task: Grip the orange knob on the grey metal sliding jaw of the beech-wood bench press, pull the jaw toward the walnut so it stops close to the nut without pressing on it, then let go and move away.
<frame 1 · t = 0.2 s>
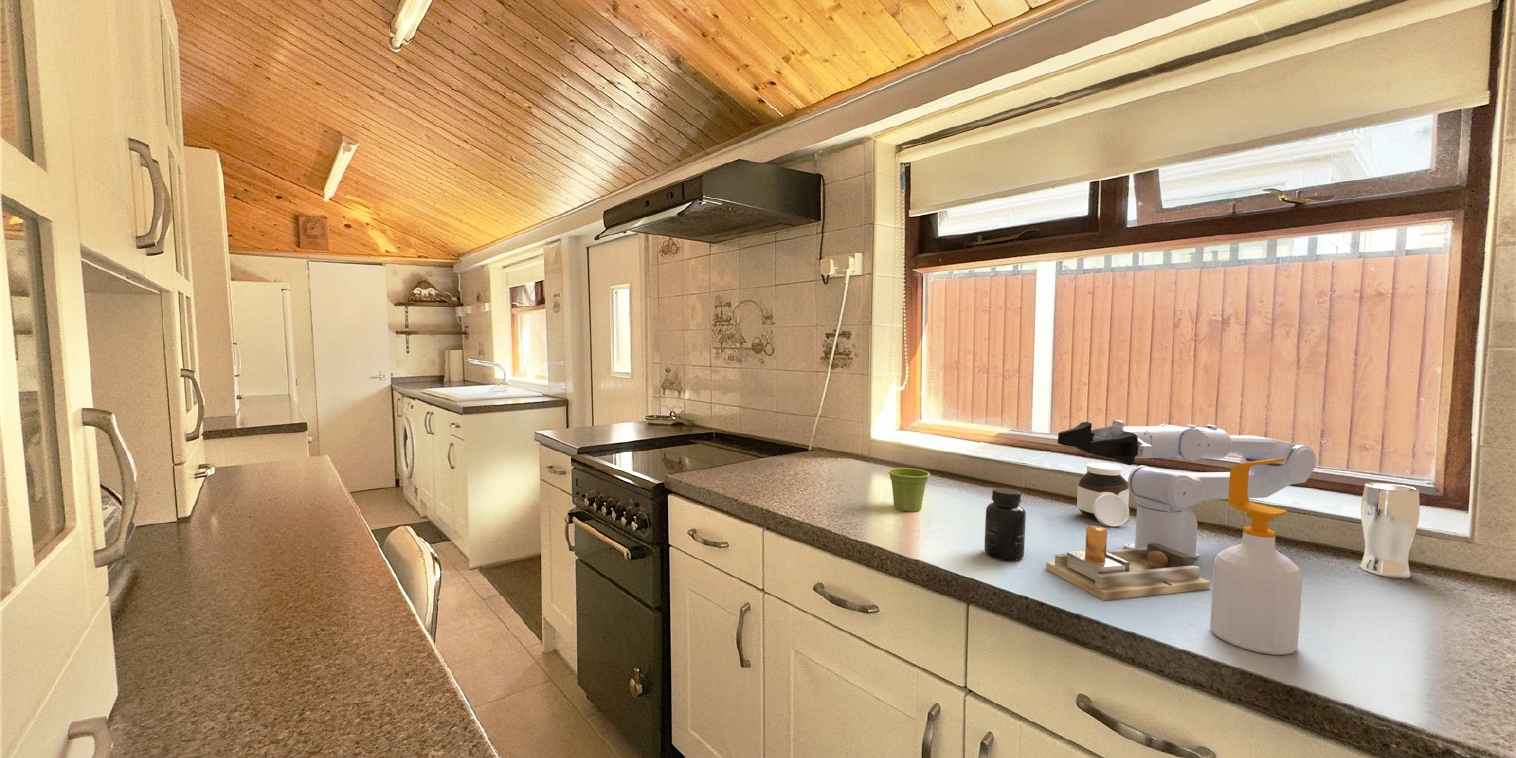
hand: (1074, 442, 109), 21 cm above the worktop, tool horizontal, fingers open, 7 cm apart
spread jar: (1105, 520, 136), on the worktop
plant pot: (907, 509, 143), on the worktop
beer glass: (1384, 573, 106), on the worktop
soap bottle: (1251, 640, 82), on the worktop
supplement bottle: (1003, 556, 113), on the worktop
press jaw: (1097, 550, 101), point 5 cm above the worktop, slide at 0.0 cm
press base: (1124, 578, 102), on the worktop
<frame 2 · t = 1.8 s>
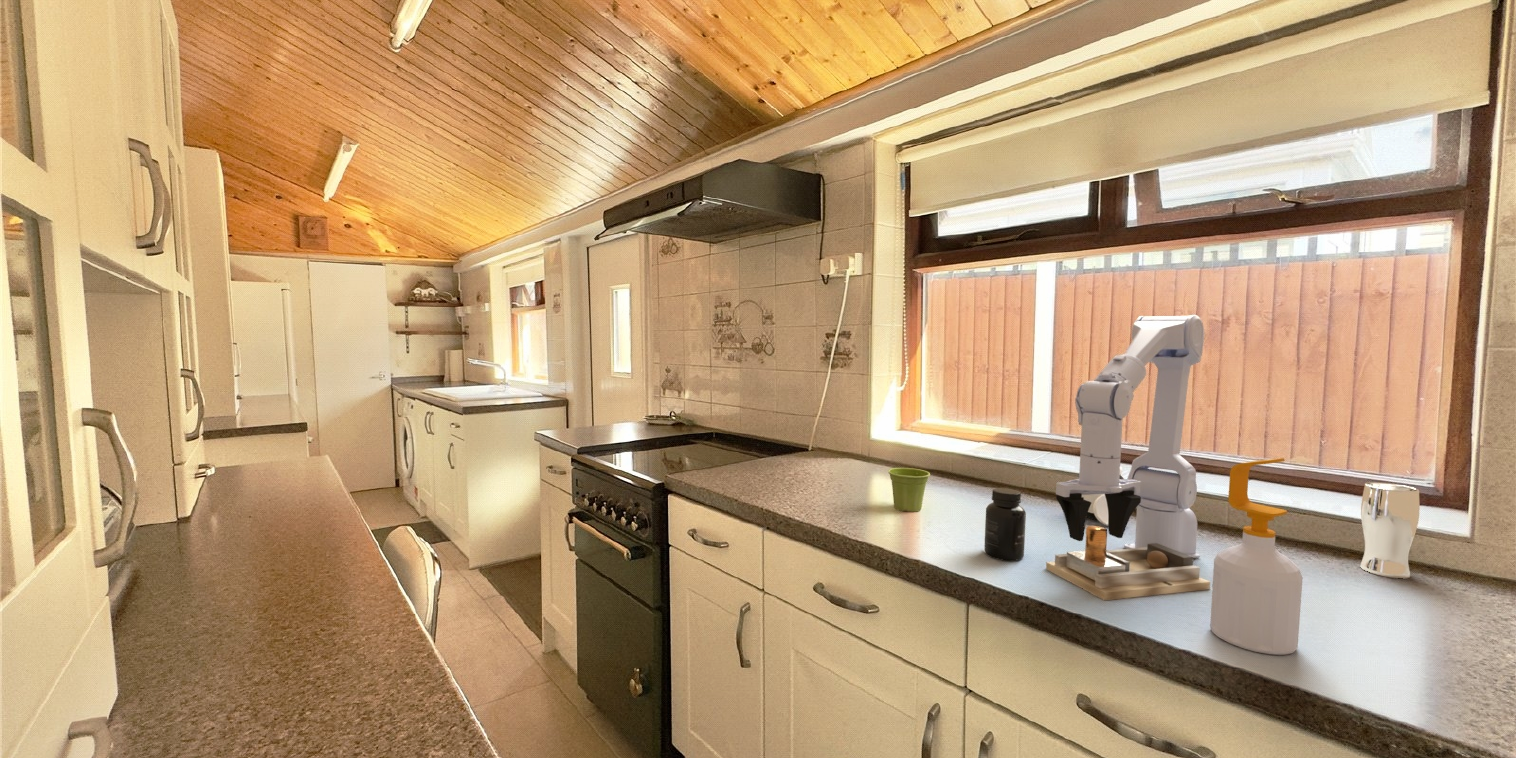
hand: (1096, 537, 100), 7 cm above the worktop, tool pointing down, fingers open, 7 cm apart
nothing on the worktop moved.
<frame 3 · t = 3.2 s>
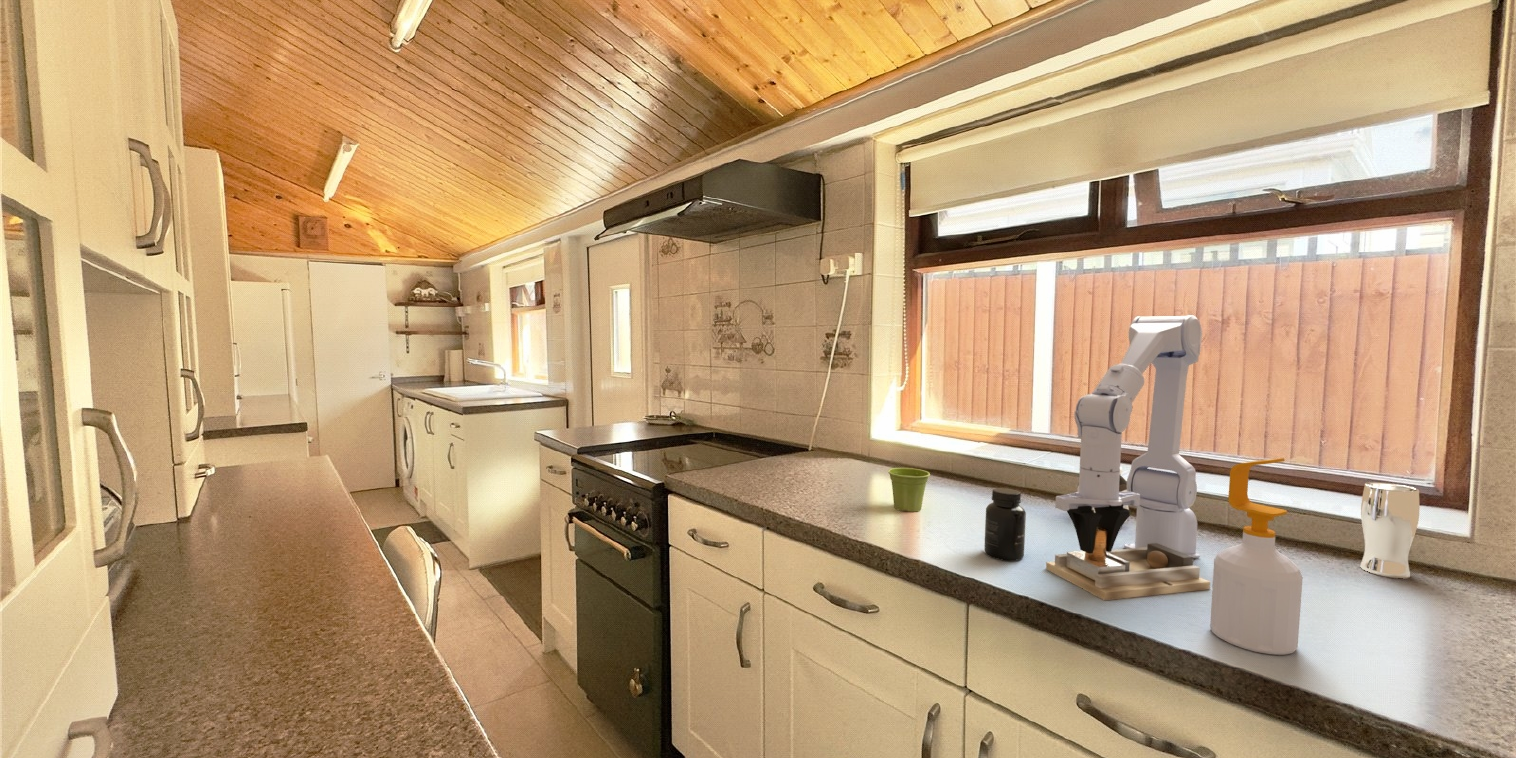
hand: (1095, 550, 101), 5 cm above the worktop, tool pointing down, fingers closed on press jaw, 3 cm apart
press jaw: (1097, 550, 101), point 5 cm above the worktop, slide at 0.0 cm, touching gripper
everything else where it was.
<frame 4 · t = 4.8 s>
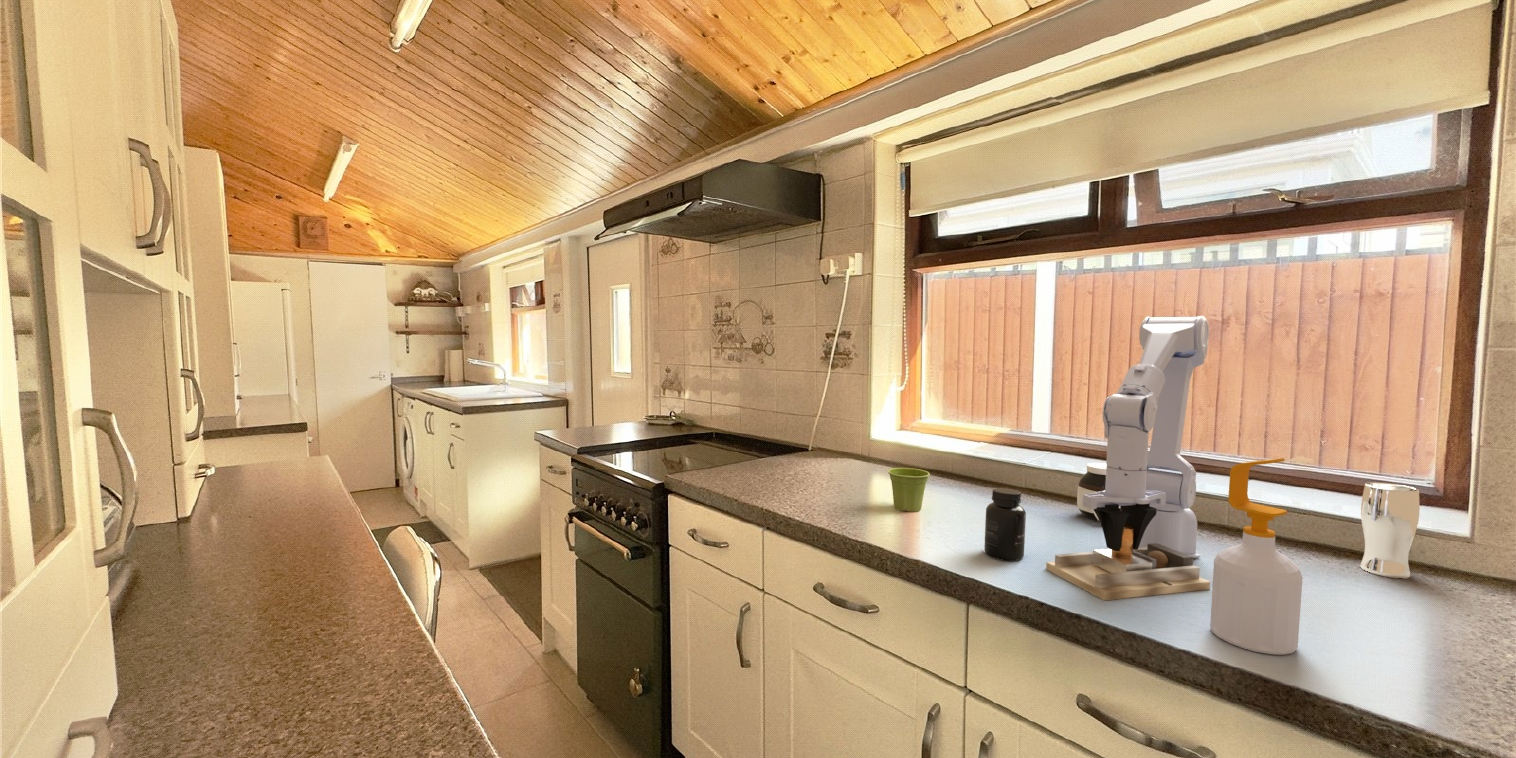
hand: (1122, 548, 102), 5 cm above the worktop, tool pointing down, fingers closed on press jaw, 3 cm apart
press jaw: (1124, 548, 102), point 5 cm above the worktop, slide at 5.2 cm, touching gripper
everything else where it was.
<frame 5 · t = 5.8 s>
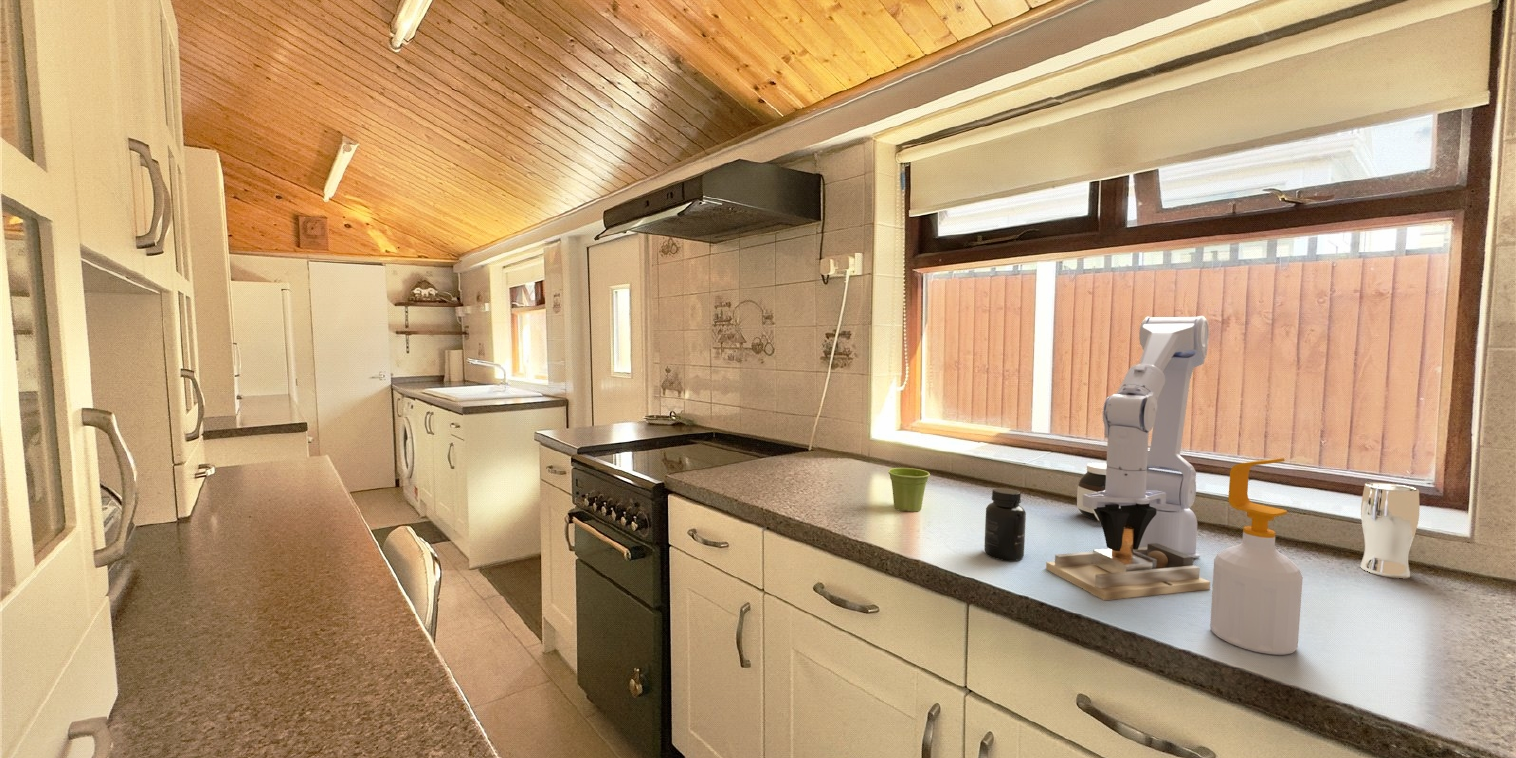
hand: (1122, 548, 102), 5 cm above the worktop, tool pointing down, fingers closed on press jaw, 3 cm apart
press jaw: (1124, 548, 102), point 5 cm above the worktop, slide at 5.2 cm, touching gripper
everything else where it was.
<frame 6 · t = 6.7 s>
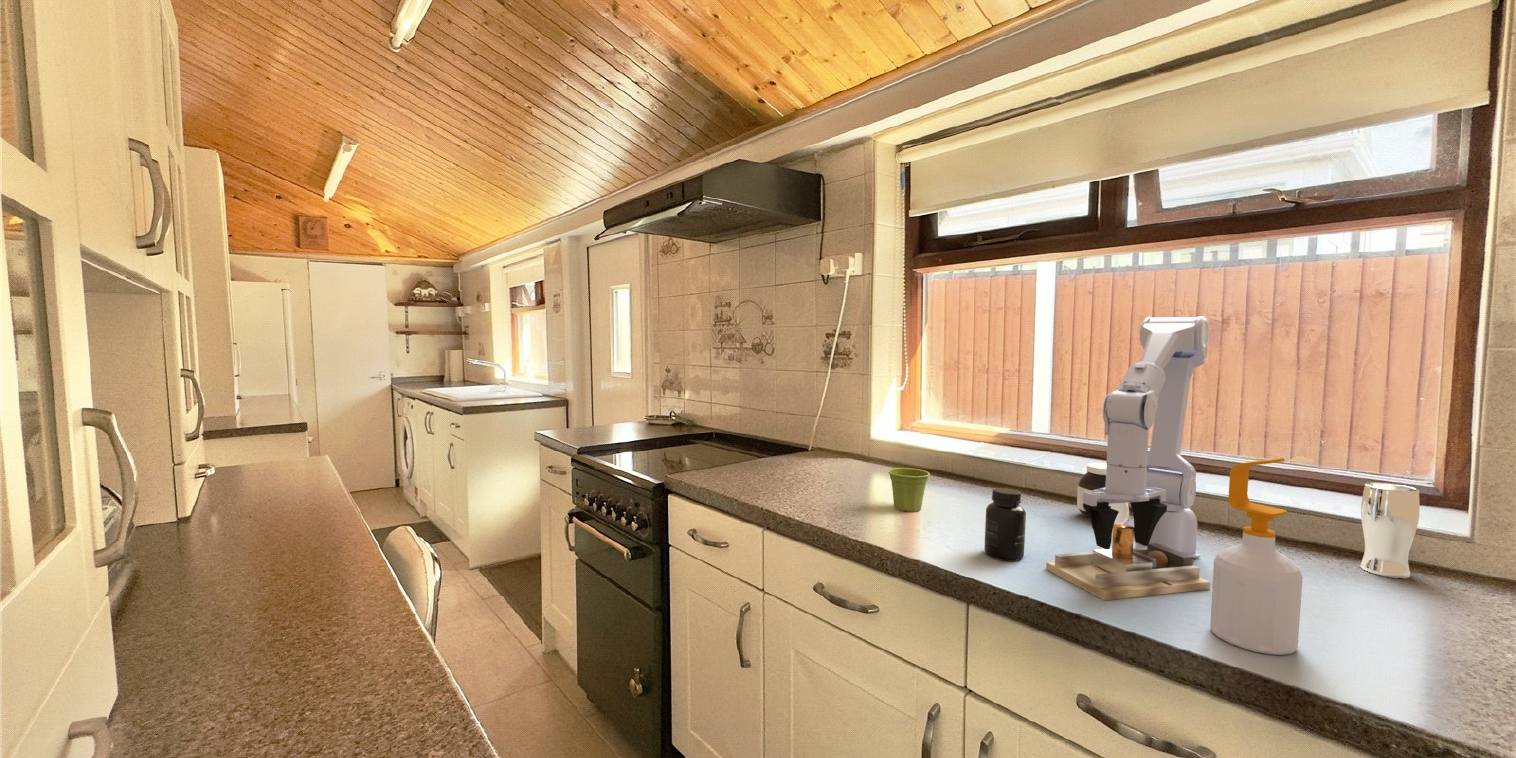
hand: (1122, 545, 102), 6 cm above the worktop, tool pointing down, fingers open, 7 cm apart
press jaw: (1124, 548, 102), point 5 cm above the worktop, slide at 5.2 cm
everything else where it was.
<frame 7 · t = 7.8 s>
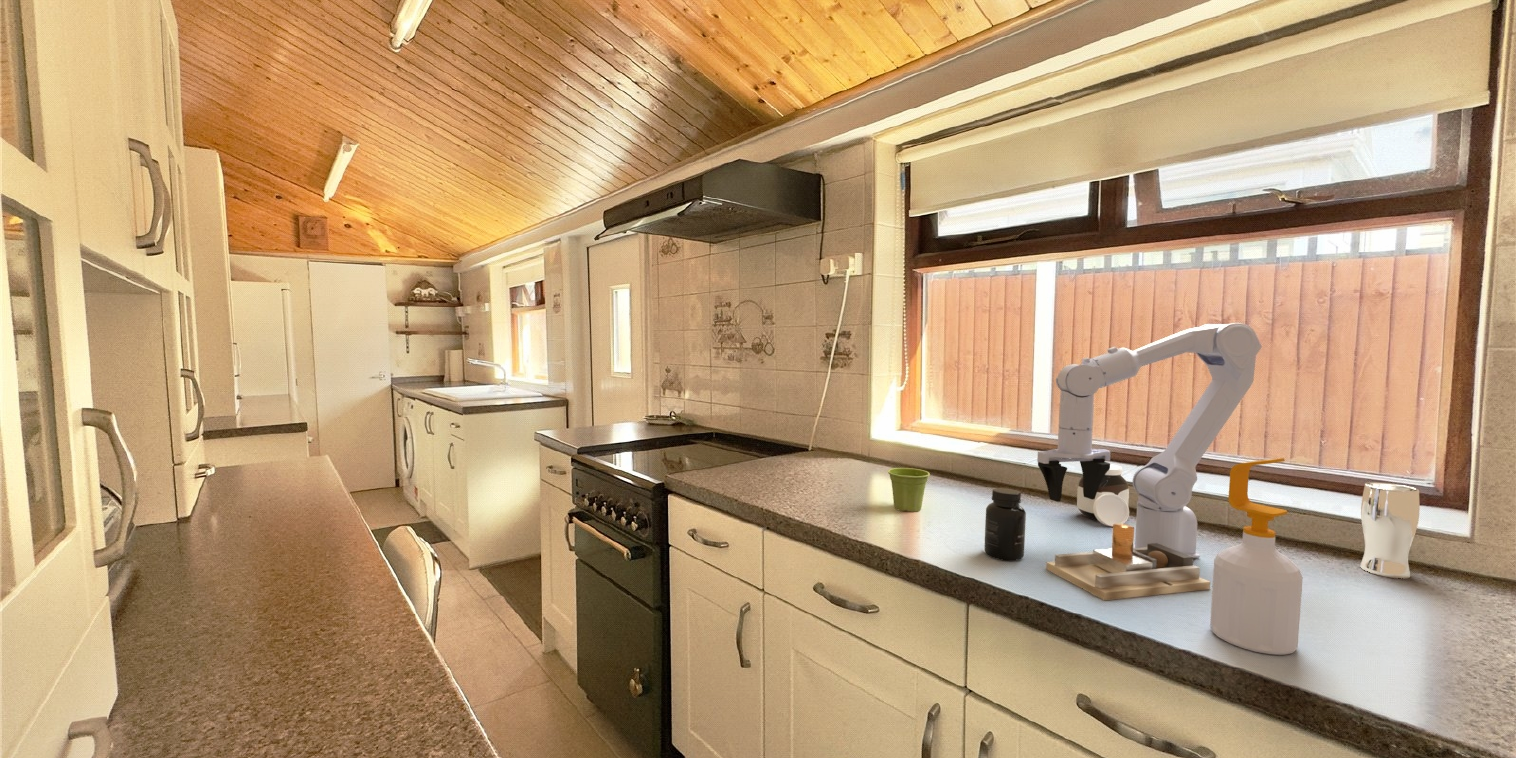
hand: (1072, 499, 117), 9 cm above the worktop, tool pointing down, fingers open, 7 cm apart
nothing on the worktop moved.
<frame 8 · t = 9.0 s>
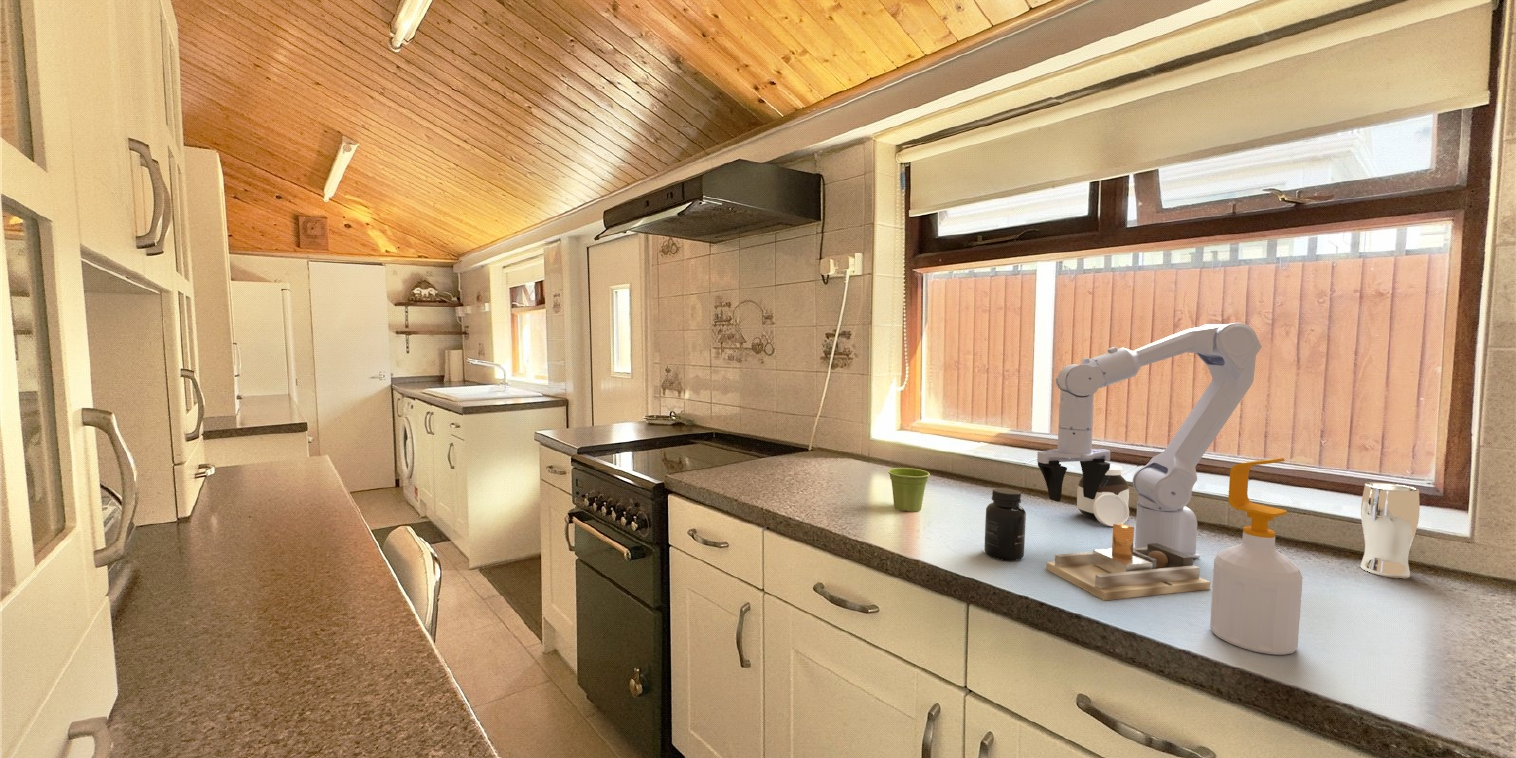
hand: (1072, 499, 117), 9 cm above the worktop, tool pointing down, fingers open, 7 cm apart
nothing on the worktop moved.
at the end: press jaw slide at 5.2 cm; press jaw touching nothing; the gripper is holding nothing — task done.
